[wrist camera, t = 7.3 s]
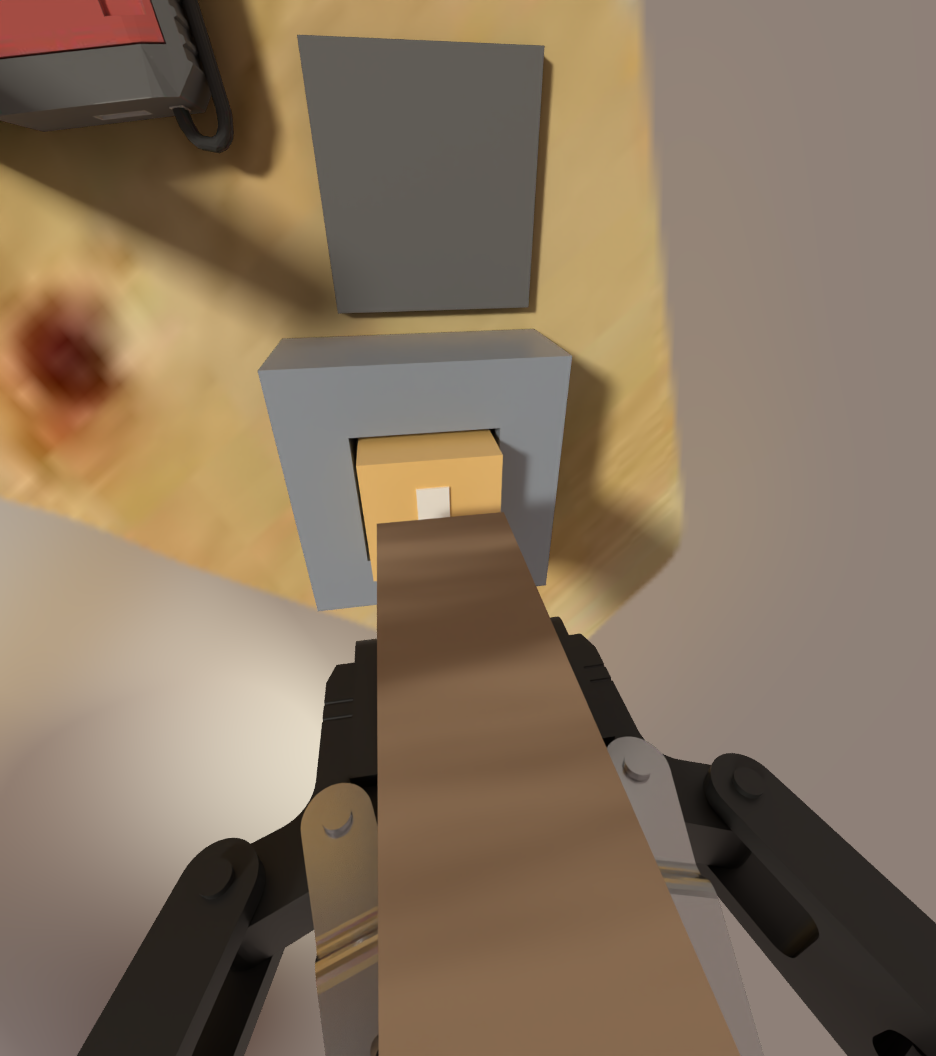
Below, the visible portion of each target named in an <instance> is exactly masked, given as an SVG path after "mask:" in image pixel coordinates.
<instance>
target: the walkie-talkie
mask: <svg viewBox="0 0 936 1056" xmlns="http://www.w3.org/2000/svg"><path fill="white" fill-rule="evenodd" d="M211 95H212V98H213V101H214V104H215V108H216V113H217V119H218V128H217V133H216V135H215V136H213V137H208V136H203V135H201V134H200V133H199V131H198V129H197V128H196V126H195V124H194V122H193V120H192V118H191V115H190V114H196V113H204V112H205V111H206V108H207V105H208V103H209V100H210V97H211ZM171 116H175V117H176V119H177V122H178V124H179V126H180V128H181V130H182V131H183V132H184V134H185V135H186V137H187V138H188V140H189V141H190V142H192V143H193V144H194V145H195V146H196V147H198V148H199V149H202V150H205V151H211V152H216V153H221V152H223V151H225V150H227V149H228V148H229V146H230V144H231V143H232V140H233V134H234V131H233V118H232V112H231V109H230V105H229V102H228V99H227V95H226V92H225V89H224V86H223V82H222V79H221V76H220V73H219V69H218V66H217V63H216V59H215V56H214V53H213V50H212V46H211V43H210V40H209V36H208V33H207V30H206V27H205V23H204V20H203V17H202V13H201V10H200V7H199V4H198V0H0V121H4V122H8V123H12V124H16V125H19V126H23V127H27V128H31V129H35V130H39V131H43V132H46V131H54V130H62V129H71V128H79V127H87V126H96V125H104V124H112V123H121V122H129V121H137V120H146V119H154V118H162V117H171Z"/></svg>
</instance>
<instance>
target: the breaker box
mask: <svg viewBox="0 0 936 1056" xmlns="http://www.w3.org/2000/svg"><path fill="white" fill-rule="evenodd" d="M571 361H572V355H570V354H569V353H567V352H566V351H565V350H563V349H562V348H560V347H559V346H558V345H556V344H555V343H553V342H552V341H550V340H549V339H548V338H546V337H545V336H543V335H542V334H541V333H539V332H538V331H536V330H535V329H518V330H492V331H467V332H441V333H415V334H390V335H364V336H338V337H313V338H287V339H282V340H281V341H280V342H279V344H278V345H277V346H276V347H275V349H274V350H273V351H272V353H271V354H270V355H269V357H268V358H267V359H266V360H265V362H264V363H263V364H262V366H261V367H260V368H259V370H258V374H259V378H260V382H261V386H262V390H263V394H264V398H265V402H266V406H267V410H268V414H269V418H270V422H271V426H272V430H273V434H274V438H275V442H276V446H277V450H278V454H279V458H280V462H281V466H282V470H283V474H284V478H285V482H286V486H287V490H288V494H289V498H290V502H291V506H292V510H293V514H294V518H295V522H296V526H297V530H298V534H299V538H300V542H301V546H302V549H303V553H304V557H305V561H306V565H307V569H308V573H309V577H310V581H311V585H312V589H313V593H314V597H315V601H316V605H317V609H318V611H325V610H334V609H342V608H351V607H360V606H368V605H377V581H374V580H373V574H372V567H371V561H370V554H369V548H368V541H367V534H366V528H365V521H364V515H363V508H362V502H361V495H360V489H359V482H358V476H357V469H356V460H357V447H358V438H359V437H374V436H389V435H404V434H419V433H433V432H448V431H463V430H478V429H489V430H490V432H491V434H492V436H493V437H494V439H495V441H496V443H497V445H498V447H499V449H500V451H501V452H502V454H503V464H502V489H501V512H504V514H505V516H506V518H507V521H508V523H509V525H510V528H511V530H512V532H513V534H514V537H515V539H516V541H517V544H518V546H519V548H520V551H521V553H522V555H523V557H524V560H525V562H526V564H527V567H528V569H529V571H530V573H531V576H532V578H533V580H534V583H535V585H536V586H542V585H546V578H547V570H548V561H549V552H550V544H551V535H552V526H553V518H554V509H555V500H556V492H557V483H558V474H559V465H560V457H561V448H562V439H563V431H564V422H565V413H566V405H567V396H568V387H569V379H570V370H571Z"/></svg>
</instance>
